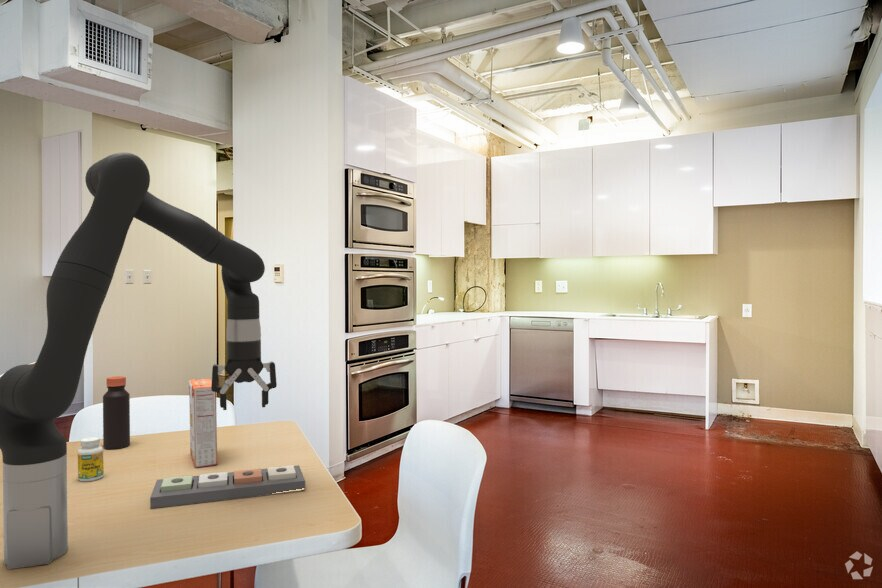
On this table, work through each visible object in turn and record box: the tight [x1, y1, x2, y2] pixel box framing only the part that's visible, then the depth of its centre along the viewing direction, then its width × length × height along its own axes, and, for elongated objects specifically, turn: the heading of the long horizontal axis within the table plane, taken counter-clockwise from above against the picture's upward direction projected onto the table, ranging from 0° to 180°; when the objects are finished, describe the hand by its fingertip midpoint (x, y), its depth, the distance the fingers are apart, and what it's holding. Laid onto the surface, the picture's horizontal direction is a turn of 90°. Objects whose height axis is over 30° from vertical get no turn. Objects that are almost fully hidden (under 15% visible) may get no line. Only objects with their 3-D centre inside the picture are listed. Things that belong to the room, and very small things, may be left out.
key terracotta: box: [233, 468, 262, 485], centre depth 137 cm, size 6×6×2 cm
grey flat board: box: [149, 464, 306, 509], centre depth 135 cm, size 12×32×2 cm, turn 110°
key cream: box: [266, 464, 296, 481], centre depth 139 cm, size 6×6×2 cm
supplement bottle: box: [77, 436, 105, 482], centre depth 143 cm, size 5×5×10 cm
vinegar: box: [102, 375, 131, 450], centre depth 171 cm, size 7×7×20 cm
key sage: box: [161, 475, 194, 492], centre depth 132 cm, size 6×6×2 cm
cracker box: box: [188, 378, 218, 469], centre depth 158 cm, size 14×6×21 cm, turn 27°
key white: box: [198, 471, 228, 488], centre depth 134 cm, size 6×6×2 cm
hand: (244, 408), depth 137 cm, fingers open, 8 cm apart
